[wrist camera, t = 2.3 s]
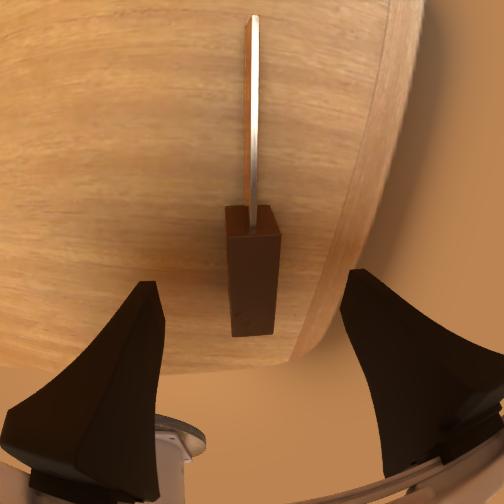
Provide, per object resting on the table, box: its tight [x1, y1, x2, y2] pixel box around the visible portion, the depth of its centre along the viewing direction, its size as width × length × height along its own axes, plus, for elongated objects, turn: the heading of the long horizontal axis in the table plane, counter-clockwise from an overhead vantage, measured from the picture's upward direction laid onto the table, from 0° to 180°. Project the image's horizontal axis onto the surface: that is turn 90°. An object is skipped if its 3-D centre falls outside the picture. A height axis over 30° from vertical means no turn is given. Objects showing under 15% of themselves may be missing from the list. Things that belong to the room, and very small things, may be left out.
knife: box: [225, 14, 281, 337], centre depth 10 cm, size 12×2×2 cm, turn 179°
